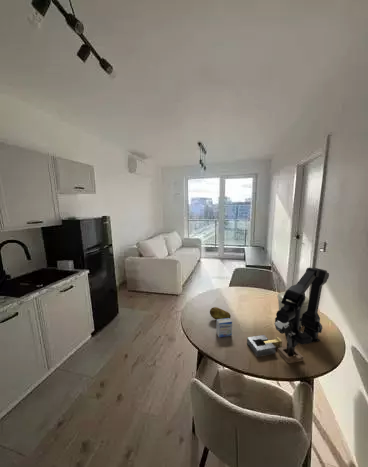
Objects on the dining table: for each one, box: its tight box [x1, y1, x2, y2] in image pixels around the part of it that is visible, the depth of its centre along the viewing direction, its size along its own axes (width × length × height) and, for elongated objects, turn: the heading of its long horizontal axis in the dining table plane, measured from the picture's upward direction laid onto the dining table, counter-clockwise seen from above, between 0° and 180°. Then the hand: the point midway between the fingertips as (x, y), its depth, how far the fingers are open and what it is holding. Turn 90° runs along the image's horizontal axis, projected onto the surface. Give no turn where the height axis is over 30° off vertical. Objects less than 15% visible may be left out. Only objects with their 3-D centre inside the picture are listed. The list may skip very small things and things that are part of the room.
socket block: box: [246, 334, 277, 358], centre depth 109 cm, size 10×10×4 cm
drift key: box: [263, 336, 283, 348], centre depth 110 cm, size 9×3×4 cm, turn 102°
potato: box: [209, 306, 232, 320], centre depth 135 cm, size 8×13×8 cm, turn 71°
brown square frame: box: [277, 346, 304, 364], centre depth 104 cm, size 8×8×2 cm
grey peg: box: [285, 331, 296, 356], centre depth 103 cm, size 4×4×11 cm
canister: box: [276, 290, 309, 328], centre depth 129 cm, size 18×18×21 cm
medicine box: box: [215, 317, 233, 338], centre depth 120 cm, size 8×4×9 cm, turn 101°
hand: (290, 344), depth 103 cm, fingers closed on grey peg, 4 cm apart
